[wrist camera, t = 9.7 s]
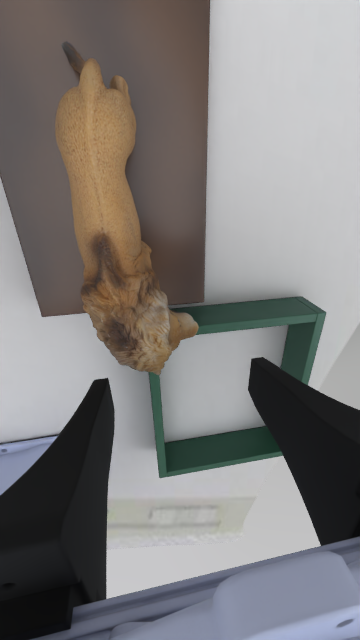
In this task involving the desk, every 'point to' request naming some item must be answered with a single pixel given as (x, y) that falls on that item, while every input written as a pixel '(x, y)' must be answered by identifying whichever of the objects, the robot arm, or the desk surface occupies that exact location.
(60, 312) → the stand
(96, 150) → the lion figurine
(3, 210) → the desk surface
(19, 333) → the desk surface
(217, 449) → the storage box
